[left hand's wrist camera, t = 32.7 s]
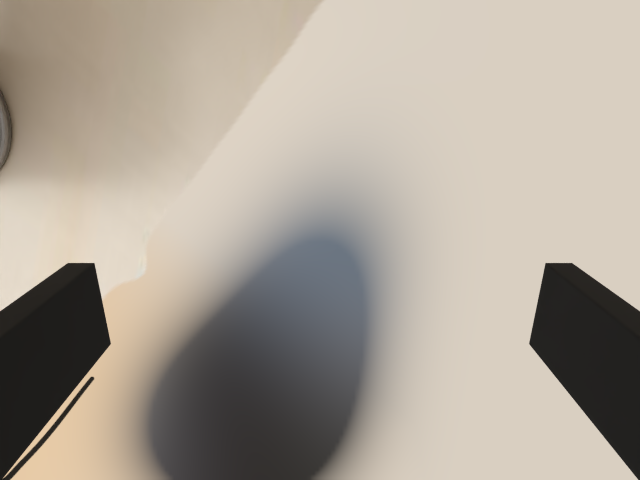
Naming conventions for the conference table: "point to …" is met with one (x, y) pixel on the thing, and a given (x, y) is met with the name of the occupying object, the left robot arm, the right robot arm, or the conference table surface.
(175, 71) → the conference table surface
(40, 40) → the conference table surface
